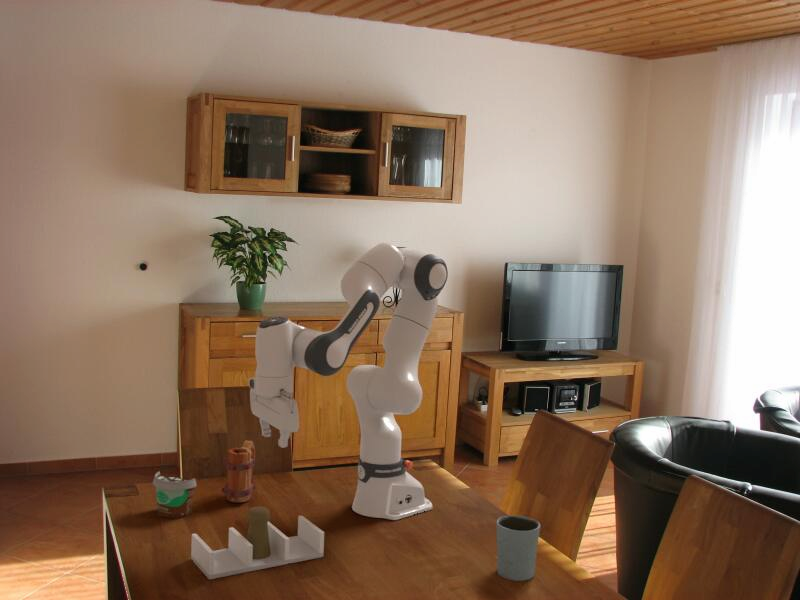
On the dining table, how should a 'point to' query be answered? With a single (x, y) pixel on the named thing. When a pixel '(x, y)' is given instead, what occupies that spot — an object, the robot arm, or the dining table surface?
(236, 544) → the slot rack
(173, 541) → the dining table surface
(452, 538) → the dining table surface
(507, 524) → the grey cup
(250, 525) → the cork
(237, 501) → the mug
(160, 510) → the food container
